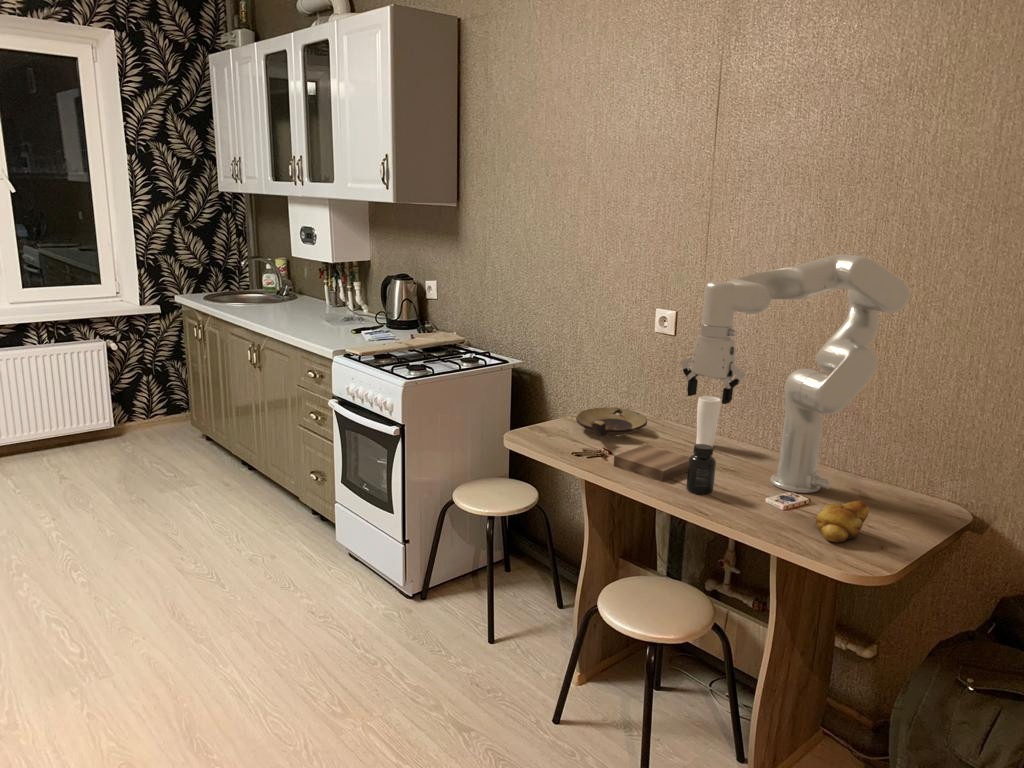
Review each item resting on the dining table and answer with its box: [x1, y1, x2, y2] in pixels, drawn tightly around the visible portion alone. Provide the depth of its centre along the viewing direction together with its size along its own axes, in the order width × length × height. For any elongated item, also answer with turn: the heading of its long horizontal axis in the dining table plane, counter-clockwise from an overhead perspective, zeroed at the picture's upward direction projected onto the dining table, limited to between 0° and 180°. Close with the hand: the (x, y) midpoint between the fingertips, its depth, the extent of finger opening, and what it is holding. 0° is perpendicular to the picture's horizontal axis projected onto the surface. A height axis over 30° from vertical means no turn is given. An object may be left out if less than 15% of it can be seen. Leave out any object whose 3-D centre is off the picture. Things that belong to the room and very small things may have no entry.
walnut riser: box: [613, 444, 690, 482], centre depth 211 cm, size 16×16×3 cm
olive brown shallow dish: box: [575, 406, 648, 438], centre depth 241 cm, size 22×30×8 cm
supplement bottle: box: [686, 444, 717, 496], centre depth 193 cm, size 7×7×12 cm
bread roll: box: [815, 500, 870, 543], centre depth 170 cm, size 13×10×8 cm
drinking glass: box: [695, 395, 722, 447], centre depth 231 cm, size 7×7×15 cm
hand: (708, 399), depth 189 cm, fingers open, 9 cm apart
